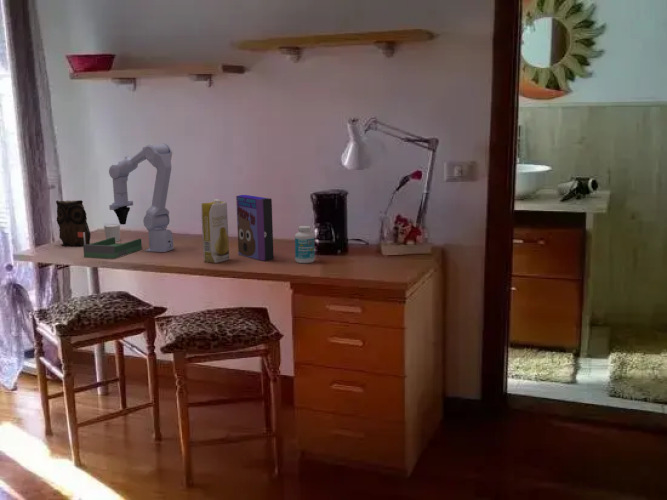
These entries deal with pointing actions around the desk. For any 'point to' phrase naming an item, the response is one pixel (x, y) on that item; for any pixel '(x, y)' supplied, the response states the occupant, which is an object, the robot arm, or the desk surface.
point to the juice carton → (215, 231)
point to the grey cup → (112, 232)
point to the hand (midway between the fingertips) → (122, 224)
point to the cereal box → (255, 227)
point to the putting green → (109, 248)
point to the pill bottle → (304, 245)
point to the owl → (72, 223)
